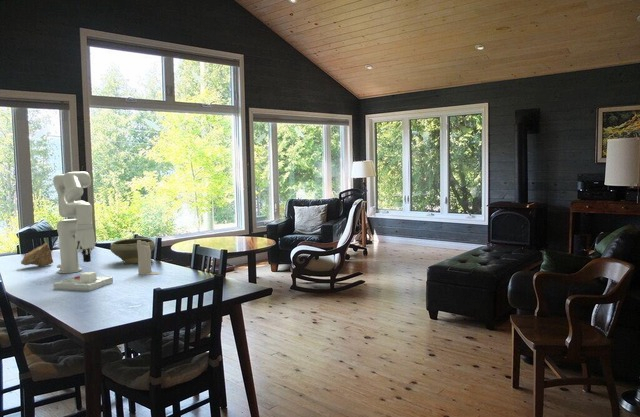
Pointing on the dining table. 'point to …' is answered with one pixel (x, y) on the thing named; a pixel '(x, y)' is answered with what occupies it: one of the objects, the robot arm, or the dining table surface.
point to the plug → (88, 277)
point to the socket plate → (82, 284)
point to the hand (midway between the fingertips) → (87, 261)
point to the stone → (38, 256)
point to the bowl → (129, 249)
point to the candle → (144, 258)
